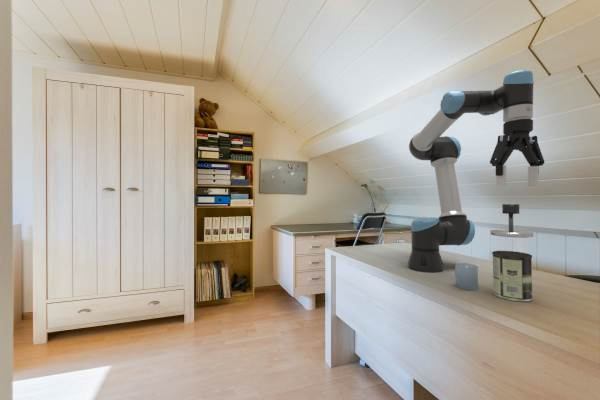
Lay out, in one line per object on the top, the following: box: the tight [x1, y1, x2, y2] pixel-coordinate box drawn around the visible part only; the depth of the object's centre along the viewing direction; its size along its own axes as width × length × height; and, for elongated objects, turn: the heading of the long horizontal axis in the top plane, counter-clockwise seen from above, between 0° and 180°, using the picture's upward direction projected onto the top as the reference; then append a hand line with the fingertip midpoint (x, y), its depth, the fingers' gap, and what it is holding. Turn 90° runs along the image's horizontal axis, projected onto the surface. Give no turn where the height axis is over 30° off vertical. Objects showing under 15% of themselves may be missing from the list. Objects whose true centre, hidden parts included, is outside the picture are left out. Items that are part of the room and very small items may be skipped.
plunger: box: [490, 203, 534, 239], centre depth 88 cm, size 11×11×10 cm
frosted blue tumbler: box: [454, 262, 479, 292], centre depth 97 cm, size 7×7×8 cm
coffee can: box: [491, 250, 533, 303], centre depth 88 cm, size 10×10×14 cm
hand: (517, 186), depth 87 cm, fingers open, 13 cm apart
